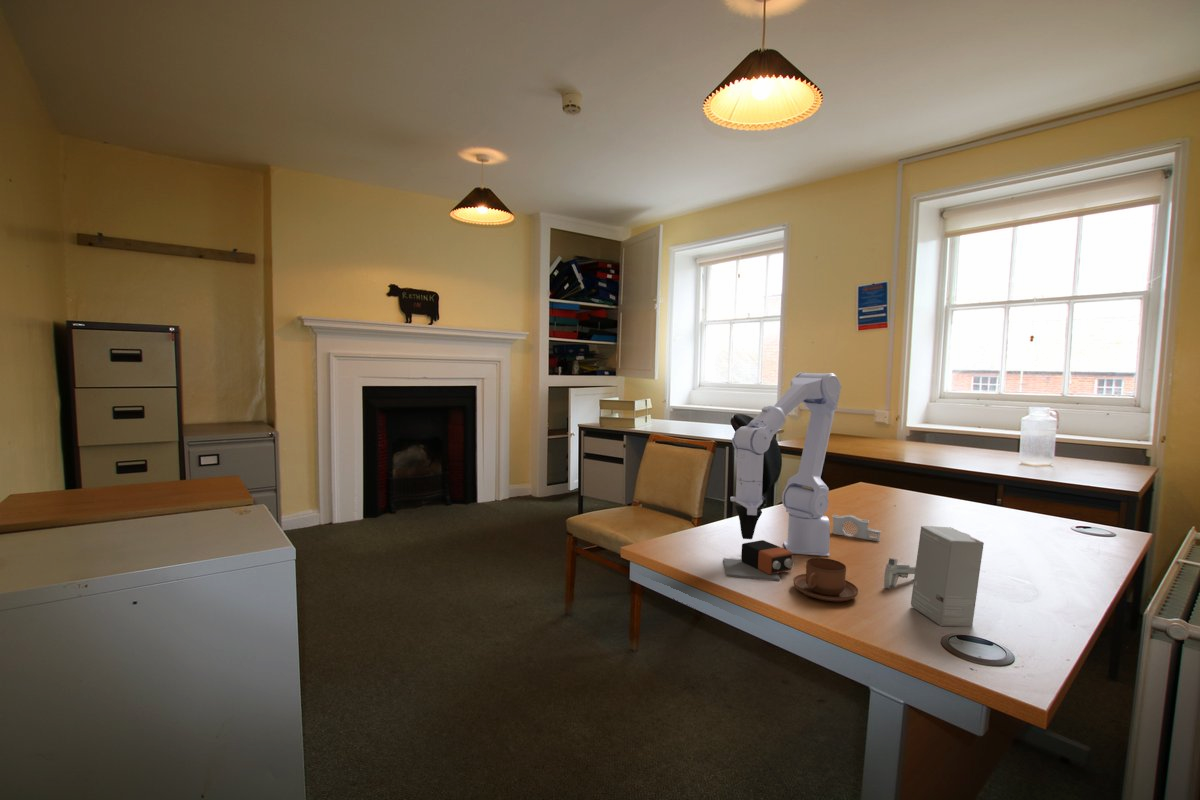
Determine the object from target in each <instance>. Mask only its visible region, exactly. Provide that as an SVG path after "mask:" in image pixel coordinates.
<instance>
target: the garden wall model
mask: <svg viewBox="0 0 1200 800" xmlns="http://www.w3.org/2000/svg"><path fill="white" fill-rule="evenodd" d="M831 518H832V519H833V520H832V534H834V535H840V536H845V537H847V538H848V537H849V538H856V539H862V540H868V541H875V542H880V537H881V535H880V534H881V532H882V530H881V529H874V528H870V527H869V524H870V523H871V522H870V520H869V519H862V518H858V517H857V516H855V515H852V514H846V515H837V514H832V516H831Z"/></svg>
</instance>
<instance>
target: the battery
mask: <svg viewBox="0 0 1200 800" xmlns="http://www.w3.org/2000/svg"><path fill="white" fill-rule="evenodd" d="M740 556H741V557H740V559H741V561H742V562H744V563H746V564H748V565H750V566H752V567H754V568H756V569H759V570H761V571H763V572H765V573H767V574H769V575H771V574H776V573H778V574H779V573H785V572H786V573H787V572H790V571H792V567H794V560H793V553H792V552H791V551H789V550H787V549H786V548H784V547H781V546H779V545H776V544H773V543H771V542H770V541H767V540H763V539H762V540H755V541H749V542H744V543H742V544H741V555H740Z"/></svg>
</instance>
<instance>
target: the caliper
mask: <svg viewBox="0 0 1200 800" xmlns="http://www.w3.org/2000/svg"><path fill="white" fill-rule="evenodd" d="M898 561H899V560H898V559H896V558H890V557H889V558H888V563H886V565H885V571H884V577H883V578H884V580H883V581H884V582H883V583H884V584H883V587H884V588H885V589H888V590H891V588H892V589H895V588H896V586H897V583H898V580H899V578H902V579H903V578H905V579H907V578H908V577H909V575H915V569H916V565H909V564H906V563H898Z"/></svg>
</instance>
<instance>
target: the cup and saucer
mask: <svg viewBox="0 0 1200 800" xmlns="http://www.w3.org/2000/svg"><path fill="white" fill-rule="evenodd" d="M805 563H806V564H805V565H806V567H805V573H802V574H798V575H796V576H795V577H794V578H793V579H792V580H793V581H792V583H793V584H794V585H793V586H794V587H795V588H796V589H797V590H799V592H800V593H802V594H804V595H805V596H808V597H811V598H814V599H818V600H820V601H825V602H838V603H839V602H846V601H849V600H852V599H854V598H856V597H857V596H858V594H859V589H858V587H857V586H856V585H855V584H854V583H852V582H851V581H848V580H846V577H847V575H846V573H847V566H846V565H845V564H844V563H843V562H841V561H840V560H839V561H838V560H836V559H832V558H828V557H827V558H826V557H810V558H808V559H807V560H806V561H805Z"/></svg>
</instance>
